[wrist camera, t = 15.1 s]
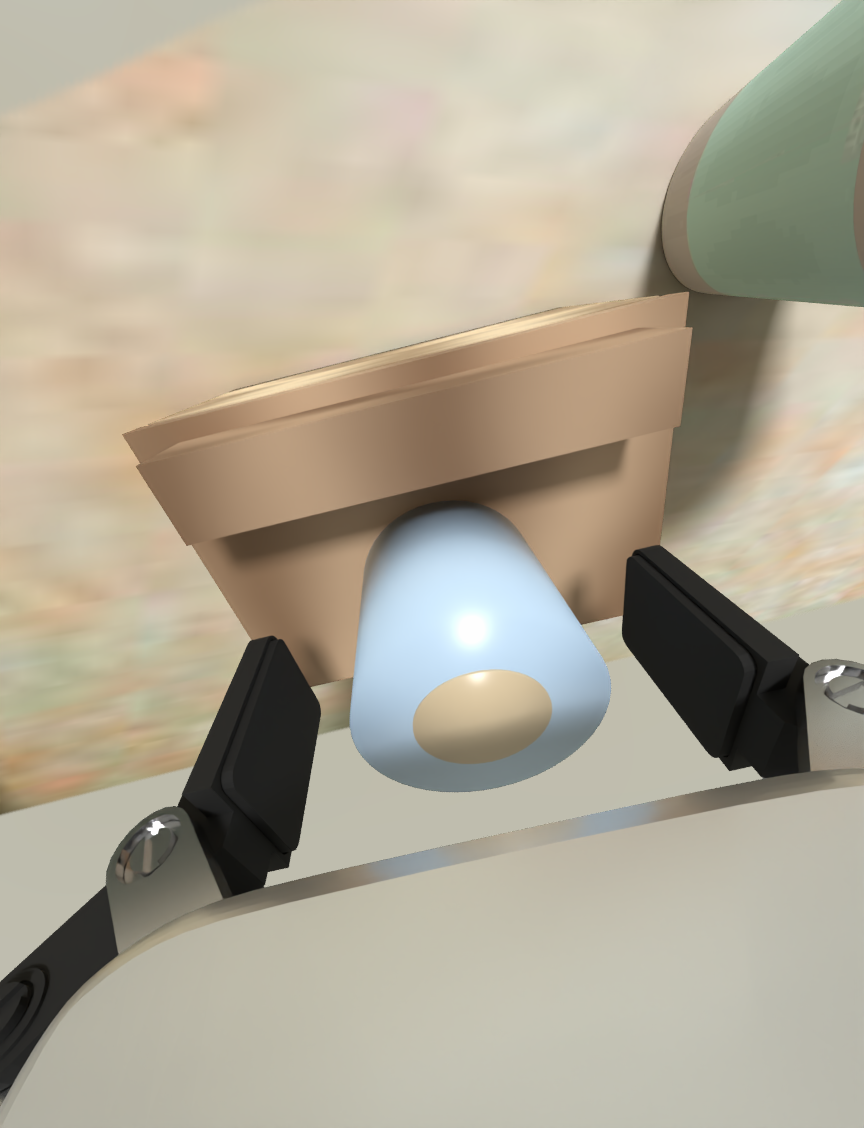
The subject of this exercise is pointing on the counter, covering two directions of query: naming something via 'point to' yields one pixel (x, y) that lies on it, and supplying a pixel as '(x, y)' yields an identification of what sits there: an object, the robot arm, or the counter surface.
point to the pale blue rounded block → (468, 656)
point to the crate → (401, 355)
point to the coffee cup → (779, 178)
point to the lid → (431, 469)
